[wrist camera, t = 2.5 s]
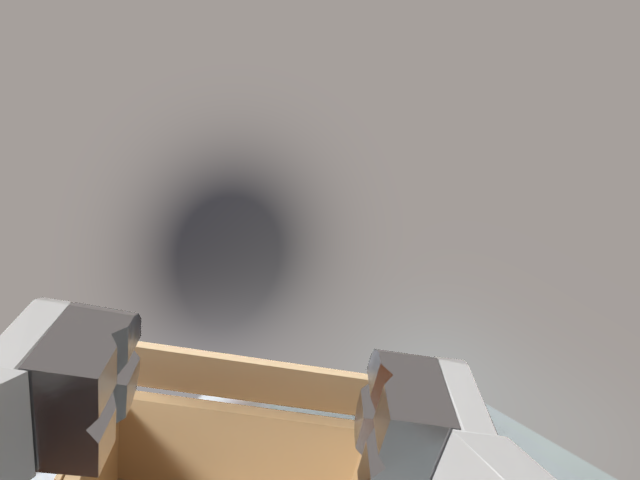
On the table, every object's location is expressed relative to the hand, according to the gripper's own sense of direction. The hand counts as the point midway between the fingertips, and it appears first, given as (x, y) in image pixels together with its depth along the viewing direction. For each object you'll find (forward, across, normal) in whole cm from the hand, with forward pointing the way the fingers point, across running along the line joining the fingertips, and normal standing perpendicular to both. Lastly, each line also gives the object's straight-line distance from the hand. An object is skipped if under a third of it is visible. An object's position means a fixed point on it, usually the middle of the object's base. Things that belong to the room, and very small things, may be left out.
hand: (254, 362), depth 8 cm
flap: (+20, 0, +20) cm, 28 cm away
